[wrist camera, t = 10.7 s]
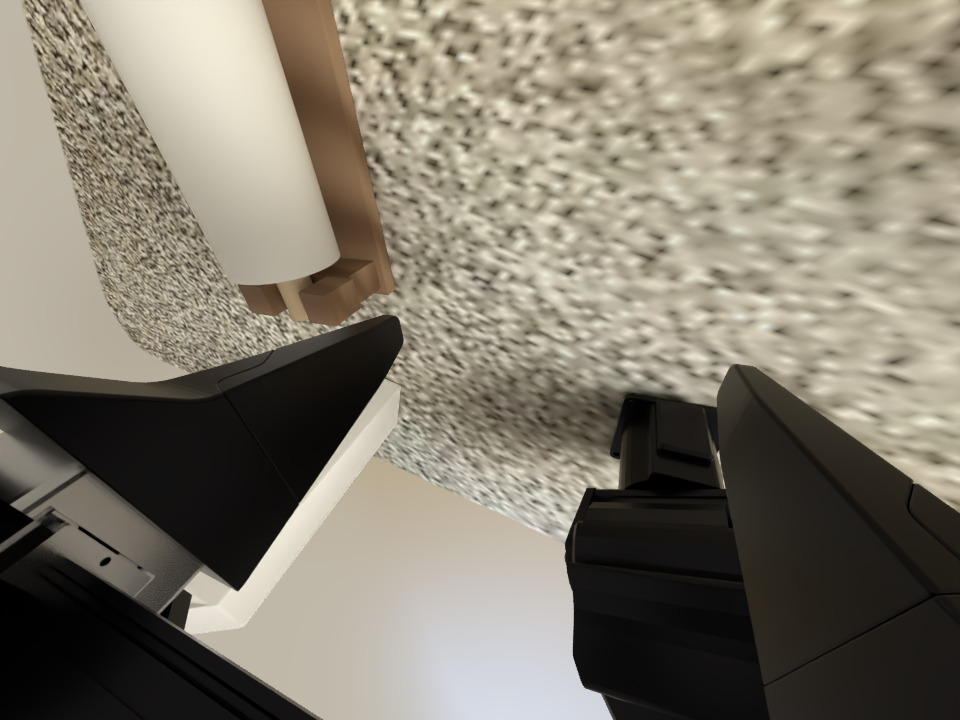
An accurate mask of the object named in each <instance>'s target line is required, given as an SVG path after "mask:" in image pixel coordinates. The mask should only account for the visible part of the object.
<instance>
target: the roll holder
mask: <svg viewBox="0 0 960 720" xmlns="http://www.w3.org/2000/svg"><path fill="white" fill-rule="evenodd" d="M262 3H263V6H264V10H265V13H266V16H267V19H268V23H269V26H270V29H271V32H272V35H273V39H274V42H275V45H276V48H277V52H278V55H279V58H280V61H281V64H282V68H283V71H284V74H285V77H286V81H287V84H288V87H289V90H290V93H291V97H292V100H293V103H294V106H295V110H296V113H297V116H298V119H299V123H300V126H301V129H302V132H303V135H304V139H305V142H306V145H307V148H308V152H309V155H310V158H311V161H312V164H313V168H314V171H315V174H316V177H317V181H318V184H319V187H320V190H321V193H322V197H323V200H324V203H325V206H326V210H327V213H328V216H329V219H330V222H331V226H332V229H333V232H334V235H335V239H336V242H337V245H338V248H339V252H340V258H339V259H338V260H337V261H336V262H335V263H334V264H332V265H331V266H329V267H327V268H325V269H323V270H321V271H319V272H317V273H314V274H311V275H310V278H311V280H312V283H313V284H312V285H310V286H309V287H307V288H305V289H303V290H302V291H300V292H298V294H299V297H300V299H301V302H302V304H303V307H304V309H305V311H306V314H307V316H308V319H309V321H310V322H311V323H317V324H323V325H329V326H335V327H336V326H337V325H338V324H340V323H341V322H342V321H344V320H345V319H346V318H348V317H349V316H351V315H352V314H353V313H355V312H356V311H357V310H359V309H360V308H361V306H360V303H361V302H362V301H363V300H365V299H366V298H368V297H369V296H370V295H372V294H373V293H376V294H384V295H389V294H390V293H391V292H393V291H394V290H395V285H394V281H393V276H392V272H391V267H390V263H389V259H388V254H387V250H386V245H385V241H384V236H383V232H382V227H381V223H380V219H379V214H378V210H377V205H376V201H375V196H374V192H373V188H372V183H371V179H370V174H369V170H368V165H367V161H366V156H365V152H364V148H363V143H362V139H361V134H360V130H359V125H358V121H357V117H356V112H355V108H354V103H353V99H352V94H351V90H350V85H349V81H348V77H347V72H346V68H345V63H344V59H343V54H342V50H341V46H340V41H339V37H338V32H337V28H336V23H335V19H334V14H333V10H332V6H331V1H330V0H262ZM238 286H239V288H240V290H241V292H242V294H243V296H244V298H245V300H246V302H247V304H248V306H249V307H250V309H251V311H252V313H257V314H263V315H269V316H276V315H277V314H279V313H281V312H282V311H284V310H286V309H287V307H286V305H285V302H284V300H283V298H282V296H281V293H280V291H279V289H278V287H277V284H276V283H274V284H265V285H241V284H238Z"/></svg>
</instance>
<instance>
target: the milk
mask: <svg viewBox="0 0 960 720" xmlns="http://www.w3.org/2000/svg"><path fill="white" fill-rule="evenodd" d="M400 391H401V386H400V385H398V384H396V383H394V382H391V381H389V380H387V379H384V381H383V382H382V384H381V385H380V387H379V388H378V390H377V391H376V393H375V394H374V396H373V397H372V399H371V400H370V402H369V403H368V405H367V406H366V407H365V409H364V410H363V412H362V413H361V415H360V416H359V418H358V419H357V421H356V422H355V424H354V425H353V426H352V428H351V429H350V431H349V432H348V434H347V435H346V437H345V438H344V440H343V441H342V442H341V444H340V445H339V447H338V448H337V450H336V451H335V453H334V454H333V456H332V457H331V459H330V460H329V461H328V463H327V464H326V466H325V467H324V469H323V470H322V472H321V473H320V475H319V476H318V478H317V479H316V480H315V482H314V483H313V485H312V486H311V488H310V489H309V491H308V492H307V494H306V495H305V496H304V498H303V499H302V501H301V502H300V503H299V506H298V507H297V509H296V510H295V511H294V513H293V514H292V516H291V517H290V519H289V520H288V522H287V523H286V525H285V526H284V528H283V529H282V530H281V532H280V533H279V535H278V536H277V538H276V539H275V541H274V542H273V544H272V545H271V547H270V548H269V549H268V551H267V552H266V554H265V555H264V557H263V558H262V560H261V561H260V563H259V564H258V566H257V567H256V568H255V570H254V571H253V573H252V574H251V576H250V577H249V579H248V580H247V582H246V583H245V584H244V586H243V587H242V588H241V589H240V590H239V591H238V592H237V591H235V590H233V589H232V588H230V587H228V586H226V585H224V584H222V583H221V582H219V581H217V580H215V579H213V578H211V577H210V576H208V575H206V574H204V573H202V572H199V573H198V574H197V575H196V576H195V577H194V578H193V579H192V580H191V582H190V583H189V584H188V585H187V586H186V587H185V588H184V590H186V591H187V592H189V593H190V594H191V595H192V598H191V602H190V607H189V611H188V616H187V620H186V625H185V629H184V631H186V632H187V633H189V634H191V635H192V634H200V633H207V632H214V631H221V630H228V629H235V628H242V627H244V626H245V625H246V624H247V622H248V621H249V620H250V618H251V617H252V616H253V614H254V613H255V612H256V610H257V609H258V608H259V606H260V605H261V604H262V602H263V601H264V600H265V598H266V597H267V596H268V594H269V593H270V592H271V591H272V589H273V588H274V587H275V585H276V584H277V582H278V581H279V580H280V579H281V577H282V576H283V575H284V573H285V572H286V571H287V569H288V568H289V566H290V565H291V564H292V563H293V561H294V560H295V558H296V557H297V556H298V555H299V553H300V552H301V550H302V549H303V548H304V547H305V545H306V544H307V542H308V541H309V540H310V539H311V537H312V536H313V535H314V533H315V532H316V531H317V529H318V528H319V527H320V525H321V524H322V522H323V521H324V520H325V519H326V517H327V516H328V514H329V513H330V512H331V510H332V509H333V508H334V507H335V505H336V504H337V503H338V501H339V500H340V499H341V497H342V496H343V495H344V493H345V492H346V491H347V489H348V488H349V487H350V485H351V484H352V482H353V481H354V480H355V479H356V477H357V476H358V475H359V473H360V472H361V471H362V469H363V468H364V467H365V465H366V464H367V463H368V461H369V460H370V458H371V457H372V456H373V455H374V453H375V452H376V451H377V449H378V448H379V447H380V445H381V444H382V443H383V441H384V440H385V439H386V437H387V436H388V435H389V433H390V432H391V431H392V429H393V428H394V427H395V425H396V424H397V421H398V411H399V401H400Z"/></svg>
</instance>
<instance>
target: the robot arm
mask: <svg viewBox="0 0 960 720" xmlns="http://www.w3.org/2000/svg"><path fill="white" fill-rule="evenodd" d="M403 341H404V339H403V334H402V329H401V325H400V321H399V319H398V317H396V316H393V315H381V316H378V317H375V318H372V319H369V320H366V321H363V322H359V323H356V324H353V325H350V326H347V327H344V328H340V329H337V330H334V331H331V332H328V333H325V334H322V335H318V336H315V337H312V338H309V339H306V340H303V341H300V342H296V343H293V344H290V345H287V346H284V347H281V348H278V349H276V350H271V351H268V352H265V353H262V354H258V355H255V356H252V357H249V358H245V359H242V360H239V361H235V362H232V363H228V364H225V365H221V366H217V367H214V368H210V369H206V370H203V371H199V372H195V373H192V374H189V375H185V376H181V377H177V378H174V379H169V380H165V381H158V382H147V383H142V382H141V383H140V382H127V381H118V380H109V379H100V378H91V377H82V376H73V375H64V374H54V373H46V372H37V371H29V370H21V369H14V368H7V367H2V366H0V429H1V430H2V431H4V432H3V433H1V434H0V720H323V719H321V718H320V717H318V716H316V715H315V714H313V713H311V712H310V711H309V710H307V709H305V708H304V707H302V706H301V705H299V704H298V703H296V702H295V701H293V700H292V699H290V698H288V697H287V696H285V695H284V694H282V693H281V692H279V691H278V690H276V689H275V688H273V687H271V686H270V685H268V684H266V683H265V682H264V681H262V680H261V679H259V678H257V677H256V676H254V675H253V674H251V673H250V672H248V671H247V670H245V669H243V668H242V667H240V666H239V665H237V664H236V663H234V662H233V661H231V660H229V659H228V658H226V657H225V656H223V655H222V654H220V653H218V652H217V651H215V650H214V649H212V648H210V647H209V646H208V645H206V644H205V643H203V642H201V641H200V640H198V639H197V638H195V637H194V636H192V635H191V634H189V633H187V632H186V631H184V629H185V625H186V620H187V616H188V611H189V607H190V602H191V598H192V595H191V594H190V593H189V592H187V591H186V590H184V588H185V587H186V586H187V585H188V584H189V583H190V582H191V580H192V579H193V578H194V577H195V576H196V575H197V574H198V573H199V572H202V573H204V574H206V575H208V576H210V577H211V578H213V579H215V580H217V581H219V582H221V583H222V584H224V585H226V586H228V587H230V588H232V589H233V590H235V591H237V592H238V591H239V590H240V589H241V588H242V587H243V586H244V584H245V583H246V582H247V580H248V579H249V577H250V576H251V574H252V573H253V571H254V570H255V568H256V567H257V566H258V564H259V563H260V561H261V560H262V558H263V557H264V555H265V554H266V552H267V551H268V549H269V548H270V547H271V545H272V544H273V542H274V541H275V539H276V538H277V536H278V535H279V533H280V532H281V530H282V529H283V528H284V526H285V525H286V523H287V522H288V520H289V519H290V517H291V516H292V514H293V513H294V511H295V510H296V509H297V507H298V506H299V503H300V502H301V501H302V499H303V498H304V496H305V495H306V494H307V492H308V491H309V489H310V488H311V486H312V485H313V483H314V482H315V480H316V479H317V478H318V476H319V475H320V473H321V472H322V470H323V469H324V467H325V466H326V464H327V463H328V461H329V460H330V459H331V457H332V456H333V454H334V453H335V451H336V450H337V448H338V447H339V445H340V444H341V442H342V441H343V440H344V438H345V437H346V435H347V434H348V432H349V431H350V429H351V428H352V426H353V425H354V424H355V422H356V421H357V419H358V418H359V416H360V415H361V413H362V412H363V410H364V409H365V407H366V406H367V405H368V403H369V402H370V400H371V399H372V397H373V396H374V394H375V393H376V391H377V390H378V388H379V387H380V385H381V384H382V382H383V381H384V379H385V377H386V375H387V374H388V372H389V370H390V368H391V366H392V364H393V362H394V361H395V359H396V357H397V355H398V353H399V351H400V349H401V348H402V345H403ZM629 400H633V401H634V402H630V401H629ZM718 451H719V454H720V461H721V467H722V472H723V477H724V482H725V487H726V489H724V484H723V480H722V475H721V470H720V466H719V461H718V457H717V452H718ZM610 455H611V456H612V457H614V458H617V459H620V470H619V487H618V489H596V488H587V489H586V491H585V494H584V496H583V498H582V501H581V503H580V506H579V508H578V511H577V513H576V516H575V518H574V521H573V523H572V526H571V528H570V531H569V534H568V536H567V539H566V542H565V549H566V553H565V562H566V565H567V574H568V578H569V583H570V585H571V589H572V591H573V602H574V630H573V657H574V661H575V664H576V667H577V670H578V673H579V676H580V679H581V682H582V684H583V686H584V687H585V688H586V689H589V690H592V691H595V692H598V693H601V694H602V697H603V699H604V700H605V703H606V705H607V707H608V709H609V711H610V714H611V716H612V718H613V720H960V513H959V512H957V511H956V510H955V509H953V508H952V507H950V506H949V505H947V504H946V503H944V502H943V501H942V500H940V499H939V498H938V497H936V496H935V495H933V494H932V493H931V492H929V491H928V490H926V489H925V488H924V487H922V486H921V485H919V484H916V483H915V484H913V480H912V479H911V478H910V477H908V476H907V475H905V474H904V473H903V472H901V471H900V470H898V469H897V468H896V467H894V466H893V465H891V464H890V463H889V462H887V461H886V460H884V459H883V458H882V457H880V456H879V455H877V454H876V453H875V452H873V451H872V450H870V449H869V448H868V447H866V446H865V445H863V444H862V443H861V442H859V441H858V440H856V439H855V438H854V437H852V436H851V435H849V434H848V433H847V432H845V431H844V430H842V429H841V428H840V427H838V426H837V425H835V424H834V423H833V422H831V421H830V420H828V419H827V418H826V417H824V416H823V415H822V414H820V413H819V412H817V411H816V410H815V409H813V408H812V407H810V406H809V405H808V404H806V403H805V402H803V401H802V400H801V399H799V398H798V397H796V396H795V395H794V394H792V393H791V392H789V391H788V390H787V389H785V388H784V387H782V386H781V385H780V384H778V383H777V382H775V381H774V380H773V379H771V378H770V377H768V376H767V375H766V374H764V373H763V372H761V371H760V370H759V369H757V368H756V367H753V366H748V365H741V364H733V365H732V366H731V367H730V368H729V370H728V372H727V374H726V376H725V378H724V380H723V382H722V384H721V387H720V389H719V391H718V395H717V409H713V408H708V407H703V406H697V405H692V404H686V403H681V402H675V401H670V400H664V399H659V398H653V397H648V396H642V395H637V394H627V395H625V396H624V399H623V402H622V406H621V410H620V414H619V418H618V421H617V425H616V429H615V433H614V437H613V441H612V444H611V448H610Z"/></svg>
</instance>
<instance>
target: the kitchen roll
mask: <svg viewBox="0 0 960 720" xmlns="http://www.w3.org/2000/svg"><path fill="white" fill-rule="evenodd" d="M79 1H80V2H81V4H82V6H83V8H84V10H85V12H86V14H87V16H88V17H89V19H90V21H91V23H92V25H93V27H94V29H95V31H96V32H97V34H98V36H99V38H100V40H101V42H102V44H103V46H104V47H105V49H106V51H107V53H108V55H109V57H110V59H111V61H112V62H113V64H114V66H115V68H116V70H117V72H118V74H119V76H120V77H121V79H122V81H123V83H124V85H125V87H126V89H127V91H128V92H129V94H130V96H131V98H132V100H133V102H134V104H135V106H136V107H137V109H138V111H139V113H140V115H141V117H142V119H143V121H144V122H145V124H146V126H147V128H148V130H149V132H150V134H151V136H152V137H153V139H154V141H155V143H156V145H157V147H158V149H159V150H160V152H161V154H162V156H163V158H164V160H165V162H166V164H167V165H168V167H169V169H170V171H171V173H172V175H173V177H174V179H175V180H176V182H177V184H178V186H179V188H180V190H181V192H182V194H183V195H184V197H185V199H186V201H187V203H188V205H189V207H190V209H191V210H192V212H193V214H194V216H195V218H196V220H197V222H198V224H199V225H200V227H201V229H202V231H203V233H204V235H205V237H206V239H207V240H208V242H209V244H210V246H211V248H212V250H213V252H214V254H215V255H216V257H217V259H218V261H219V263H220V265H221V267H222V269H223V270H224V272H225V274H226V276H227V278H228V279H229V281H231V282H233V283H236V284H241V285H265V284H274V283H276V284H277V287H278V289H279V291H280V293H281V296H282V298H283V300H284V302H285V305H286V307H287V309H288V311H289V313H290V316H291V318H292V319H293V320H295V321H305V320H309V319H308V316H307V314H306V311H305V309H304V307H303V304H302V302H301V299H300V297H299V294H298V292H300V291H302V290H303V289H305V288H307V287H309V286H310V285H312V284H313V283H312V280H311V278H310V275H311V274H314V273H317V272H319V271H321V270H323V269H325V268H327V267H329V266H331V265H332V264H334V263H335V262H336V261H337V260H338V259H339V258H340V252H339V248H338V245H337V242H336V239H335V235H334V232H333V229H332V226H331V222H330V219H329V216H328V213H327V210H326V206H325V203H324V200H323V197H322V193H321V190H320V187H319V184H318V181H317V177H316V174H315V171H314V168H313V164H312V161H311V158H310V155H309V152H308V148H307V145H306V142H305V139H304V135H303V132H302V129H301V126H300V123H299V119H298V116H297V113H296V110H295V106H294V103H293V100H292V97H291V93H290V90H289V87H288V84H287V81H286V77H285V74H284V71H283V68H282V64H281V61H280V58H279V55H278V52H277V48H276V45H275V42H274V39H273V35H272V32H271V29H270V26H269V23H268V19H267V16H266V13H265V10H264V6H263V3H262V0H79Z"/></svg>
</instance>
